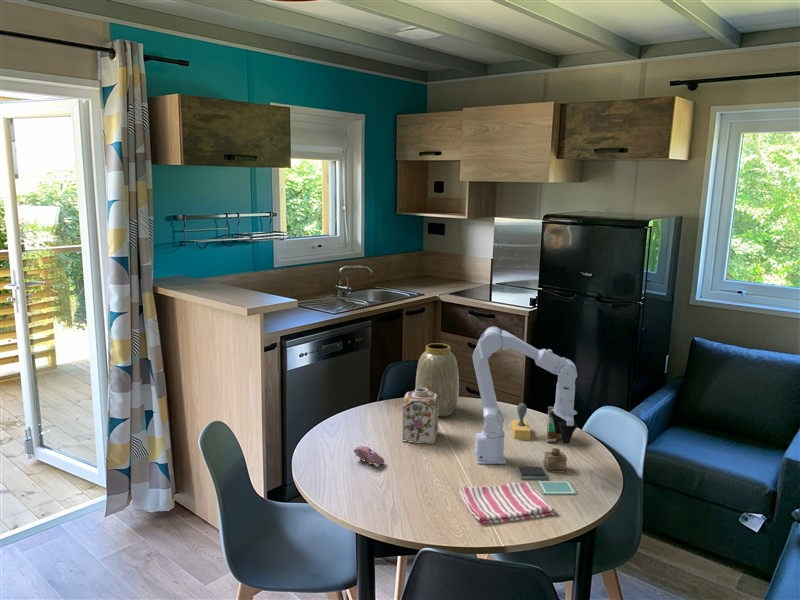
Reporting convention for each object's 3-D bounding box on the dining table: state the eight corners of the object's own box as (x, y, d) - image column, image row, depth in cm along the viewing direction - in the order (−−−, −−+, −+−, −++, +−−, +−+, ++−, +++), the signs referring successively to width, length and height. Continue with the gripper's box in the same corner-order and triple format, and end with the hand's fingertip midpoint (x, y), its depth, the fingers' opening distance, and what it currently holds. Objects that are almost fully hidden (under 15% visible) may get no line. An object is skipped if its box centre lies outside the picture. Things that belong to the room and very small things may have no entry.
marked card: (543, 494, 180) (543, 493, 180) (536, 481, 188) (536, 480, 188) (577, 494, 181) (577, 493, 180) (569, 481, 188) (569, 480, 188)
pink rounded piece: (356, 463, 203) (349, 448, 199) (365, 453, 205) (358, 438, 202) (377, 472, 196) (370, 457, 193) (386, 462, 199) (380, 447, 195)
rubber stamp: (530, 440, 220) (532, 408, 217) (514, 439, 220) (515, 407, 218) (526, 429, 229) (528, 398, 227) (511, 428, 230) (512, 398, 228)
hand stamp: (547, 471, 195) (548, 452, 194) (543, 466, 199) (545, 447, 198) (565, 471, 195) (567, 452, 194) (562, 466, 199) (563, 447, 198)
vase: (466, 411, 247) (468, 346, 242) (439, 422, 235) (440, 354, 230) (434, 400, 258) (435, 338, 254) (406, 411, 246) (407, 346, 241)
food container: (565, 446, 214) (567, 419, 213) (547, 444, 216) (549, 417, 214) (563, 432, 226) (565, 407, 225) (546, 431, 228) (548, 405, 226)
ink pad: (521, 479, 190) (521, 475, 189) (517, 470, 195) (517, 466, 195) (546, 479, 190) (547, 475, 189) (542, 470, 196) (542, 466, 195)
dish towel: (457, 496, 180) (458, 485, 179) (530, 488, 185) (531, 477, 185) (479, 527, 164) (479, 515, 163) (558, 517, 169) (559, 505, 168)
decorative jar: (438, 432, 225) (439, 385, 222) (434, 445, 214) (435, 395, 211) (406, 429, 227) (407, 383, 224) (401, 442, 216) (401, 393, 213)
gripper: (584, 406, 188) (581, 448, 191) (570, 390, 202) (567, 429, 205) (562, 406, 188) (559, 447, 190) (549, 390, 202) (546, 429, 205)
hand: (562, 438), depth 198 cm, fingers open, 7 cm apart
